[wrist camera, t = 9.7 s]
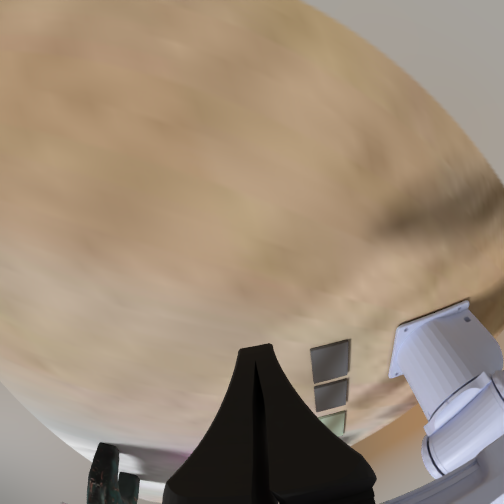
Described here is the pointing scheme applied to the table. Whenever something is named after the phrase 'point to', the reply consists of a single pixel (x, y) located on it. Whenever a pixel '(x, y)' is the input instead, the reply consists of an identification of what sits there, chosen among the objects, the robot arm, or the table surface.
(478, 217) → the table surface
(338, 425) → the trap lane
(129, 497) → the ceramic cat
